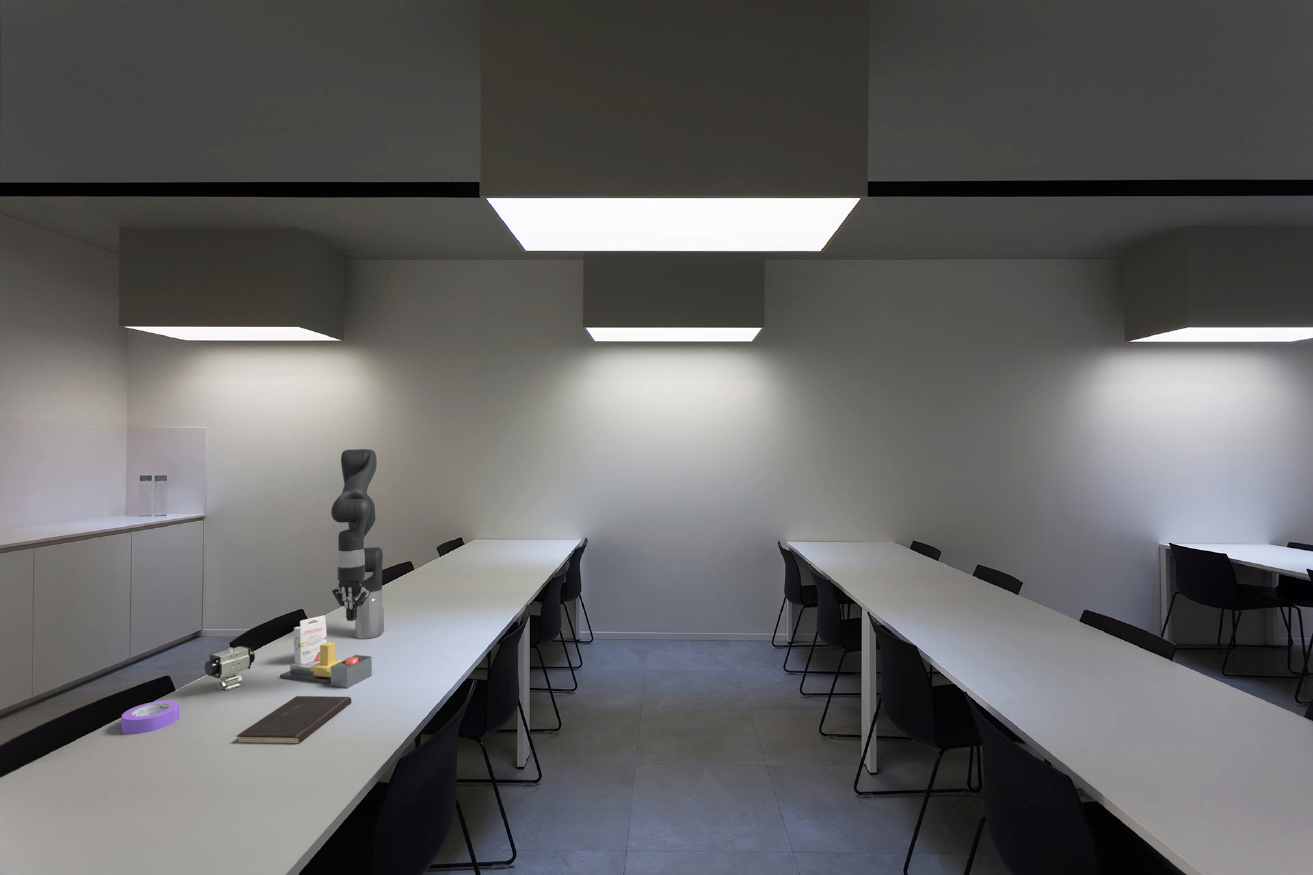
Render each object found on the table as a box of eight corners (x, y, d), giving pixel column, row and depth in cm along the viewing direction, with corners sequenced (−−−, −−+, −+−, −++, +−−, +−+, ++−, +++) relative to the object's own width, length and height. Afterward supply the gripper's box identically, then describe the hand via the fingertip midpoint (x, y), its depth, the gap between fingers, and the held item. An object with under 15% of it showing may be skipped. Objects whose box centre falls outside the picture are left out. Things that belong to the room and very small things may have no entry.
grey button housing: (355, 673, 192) (355, 654, 192) (371, 675, 191) (371, 656, 191) (330, 686, 183) (330, 666, 183) (347, 688, 181) (347, 668, 181)
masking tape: (186, 711, 167) (186, 697, 167) (169, 729, 156) (169, 714, 156) (133, 718, 163) (133, 703, 163) (112, 738, 152) (112, 722, 152)
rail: (301, 668, 197) (301, 659, 197) (349, 674, 192) (349, 664, 192) (280, 677, 189) (279, 668, 189) (329, 684, 184) (329, 674, 184)
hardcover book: (236, 744, 149) (236, 735, 149) (296, 703, 172) (296, 695, 172) (299, 745, 148) (299, 736, 148) (351, 704, 171) (351, 696, 171)
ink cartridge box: (320, 655, 210) (320, 612, 210) (327, 658, 207) (327, 614, 207) (293, 662, 203) (293, 618, 203) (300, 665, 200) (300, 620, 200)
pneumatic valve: (204, 693, 178) (204, 652, 178) (246, 679, 188) (246, 640, 188) (214, 697, 175) (214, 655, 175) (256, 682, 186) (256, 643, 186)
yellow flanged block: (328, 668, 193) (328, 639, 193) (344, 670, 192) (344, 641, 192) (310, 676, 187) (310, 646, 187) (326, 678, 185) (326, 648, 185)
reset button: (351, 672, 189) (351, 656, 189) (360, 673, 188) (360, 657, 188) (342, 676, 185) (342, 660, 186) (352, 677, 184) (352, 661, 185)
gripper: (377, 562, 189) (378, 618, 189) (343, 560, 192) (343, 615, 192) (360, 567, 181) (360, 625, 181) (324, 565, 185) (324, 622, 185)
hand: (351, 620), depth 187 cm, fingers closed
